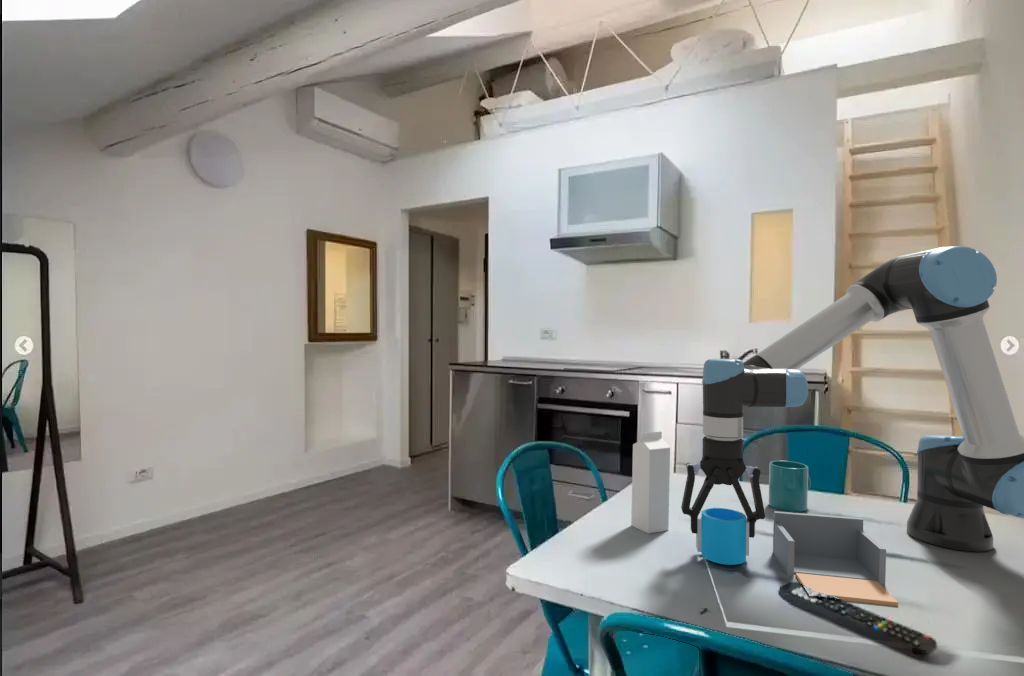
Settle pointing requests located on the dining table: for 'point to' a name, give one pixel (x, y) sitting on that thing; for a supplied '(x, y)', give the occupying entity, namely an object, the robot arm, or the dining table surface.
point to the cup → (788, 486)
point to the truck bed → (827, 547)
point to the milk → (650, 483)
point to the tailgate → (848, 589)
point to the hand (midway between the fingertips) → (722, 551)
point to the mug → (724, 536)
